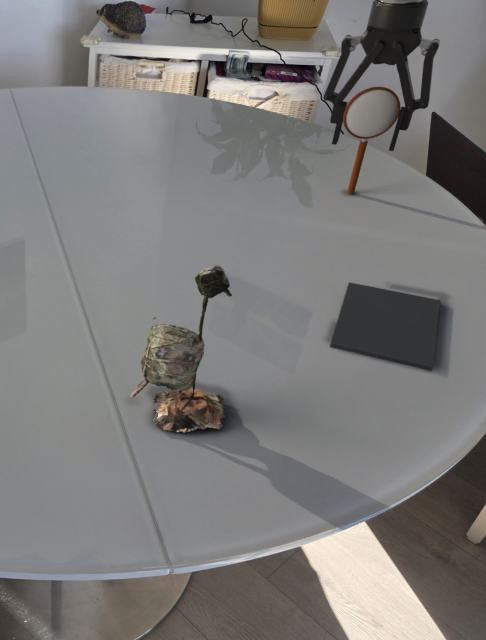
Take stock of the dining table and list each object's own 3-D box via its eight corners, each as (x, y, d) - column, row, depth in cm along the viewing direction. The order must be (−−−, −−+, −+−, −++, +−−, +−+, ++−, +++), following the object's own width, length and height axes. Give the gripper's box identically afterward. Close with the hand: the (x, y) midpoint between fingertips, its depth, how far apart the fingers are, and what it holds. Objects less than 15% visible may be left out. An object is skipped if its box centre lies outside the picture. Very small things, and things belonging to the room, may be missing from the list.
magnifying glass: (324, 201, 117) (350, 89, 104) (322, 197, 118) (348, 85, 105) (375, 201, 115) (408, 87, 103) (373, 197, 116) (405, 84, 104)
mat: (439, 303, 91) (440, 300, 90) (431, 371, 80) (433, 367, 80) (348, 285, 96) (348, 282, 95) (329, 346, 85) (330, 343, 85)
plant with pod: (142, 380, 83) (149, 246, 70) (232, 400, 79) (256, 261, 66) (124, 423, 77) (127, 284, 65) (219, 447, 73) (243, 304, 61)
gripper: (322, 1, 98) (294, 145, 112) (482, 5, 89) (430, 161, 103) (330, -9, 103) (303, 130, 117) (483, -6, 94) (433, 144, 108)
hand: (363, 144), depth 110 cm, fingers closed on magnifying glass, 8 cm apart
